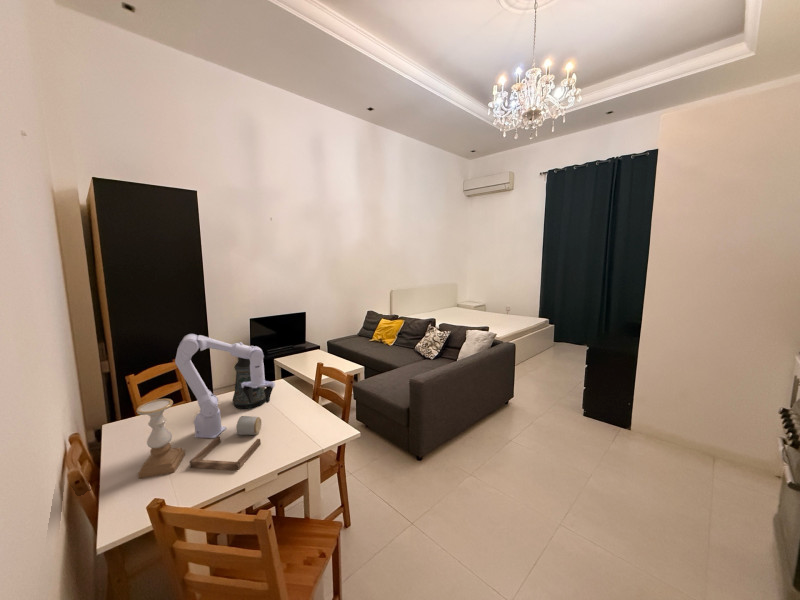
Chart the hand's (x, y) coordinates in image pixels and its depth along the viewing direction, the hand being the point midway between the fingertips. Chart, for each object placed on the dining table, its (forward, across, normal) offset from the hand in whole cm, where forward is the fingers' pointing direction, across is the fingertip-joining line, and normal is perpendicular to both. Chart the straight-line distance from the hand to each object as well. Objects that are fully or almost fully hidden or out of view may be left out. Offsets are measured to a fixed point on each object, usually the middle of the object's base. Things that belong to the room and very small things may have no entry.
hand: (259, 401), depth 142 cm
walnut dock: (+9, -2, -24) cm, 26 cm away
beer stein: (+10, -15, +18) cm, 25 cm away
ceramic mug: (+10, -1, -9) cm, 13 cm away
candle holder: (+10, -22, -30) cm, 39 cm away
